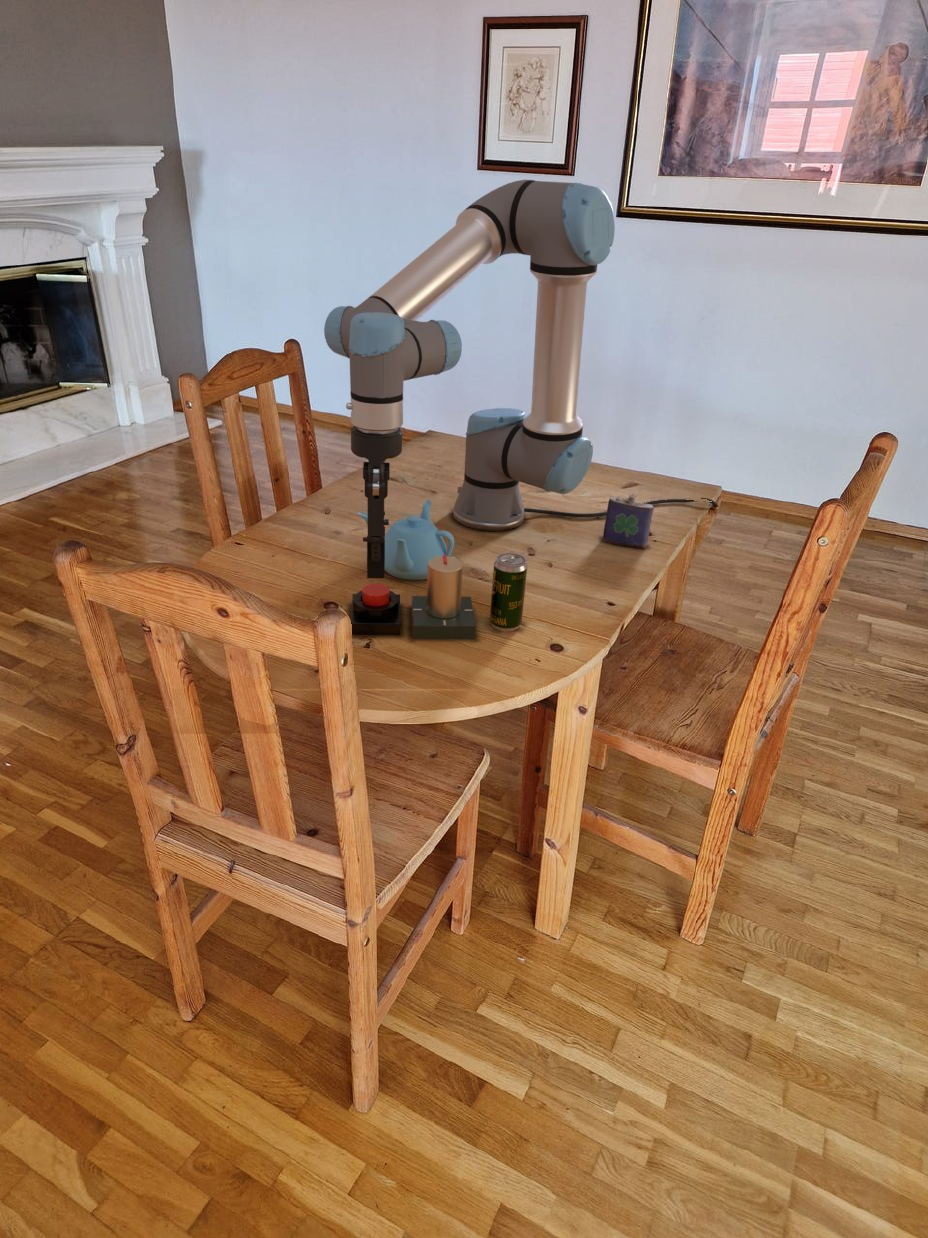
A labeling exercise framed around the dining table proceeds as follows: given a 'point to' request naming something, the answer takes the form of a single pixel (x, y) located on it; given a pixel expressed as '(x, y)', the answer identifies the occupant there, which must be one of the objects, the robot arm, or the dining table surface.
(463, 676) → the dining table surface
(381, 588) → the button
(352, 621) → the button box
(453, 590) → the tan upright cylinder
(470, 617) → the block
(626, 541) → the flask
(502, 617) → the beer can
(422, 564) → the teapot
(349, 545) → the dining table surface
